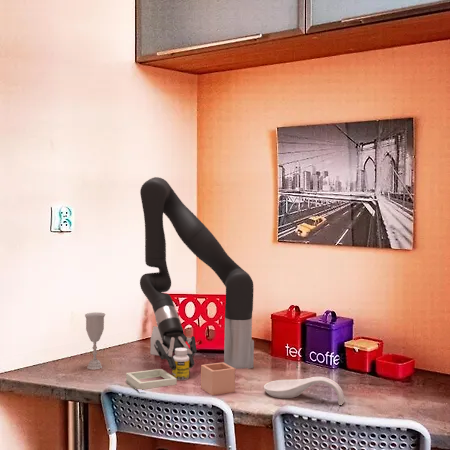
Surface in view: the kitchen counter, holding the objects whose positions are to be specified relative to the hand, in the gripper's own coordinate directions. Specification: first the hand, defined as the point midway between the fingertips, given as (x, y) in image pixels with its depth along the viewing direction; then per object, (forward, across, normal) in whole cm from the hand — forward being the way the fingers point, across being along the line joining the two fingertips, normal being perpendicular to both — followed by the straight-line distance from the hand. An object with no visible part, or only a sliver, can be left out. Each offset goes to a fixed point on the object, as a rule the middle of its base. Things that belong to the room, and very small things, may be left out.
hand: (183, 367), depth 213 cm
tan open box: (+13, +5, -7) cm, 16 cm away
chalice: (-16, -20, +23) cm, 35 cm away
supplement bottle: (+2, 0, +4) cm, 5 cm away
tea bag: (-21, +7, +28) cm, 36 cm away
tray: (+2, -10, +4) cm, 11 cm away
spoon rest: (+25, +25, -17) cm, 39 cm away
